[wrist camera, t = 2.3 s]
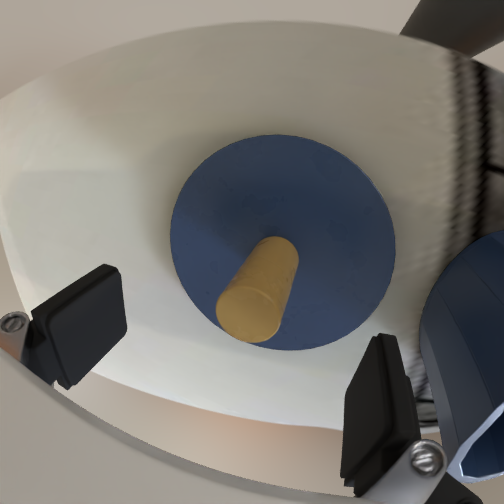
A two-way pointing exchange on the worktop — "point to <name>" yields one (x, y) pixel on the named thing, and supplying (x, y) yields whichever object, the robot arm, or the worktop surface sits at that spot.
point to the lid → (282, 242)
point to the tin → (468, 359)
